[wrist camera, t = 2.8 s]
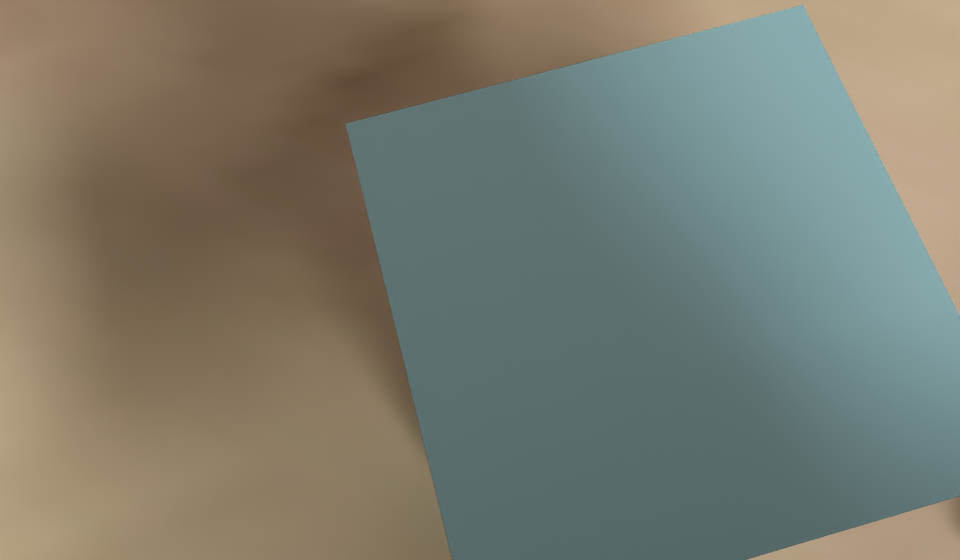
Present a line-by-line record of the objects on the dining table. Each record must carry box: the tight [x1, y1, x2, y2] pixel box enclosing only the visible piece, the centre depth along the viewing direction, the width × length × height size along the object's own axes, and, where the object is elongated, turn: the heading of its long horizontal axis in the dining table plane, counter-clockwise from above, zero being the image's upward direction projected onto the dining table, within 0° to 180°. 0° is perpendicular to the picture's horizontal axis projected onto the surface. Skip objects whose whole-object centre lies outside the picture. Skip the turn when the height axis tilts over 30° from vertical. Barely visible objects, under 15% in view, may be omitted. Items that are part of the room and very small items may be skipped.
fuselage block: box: [346, 5, 960, 560], centre depth 13 cm, size 5×5×13 cm
